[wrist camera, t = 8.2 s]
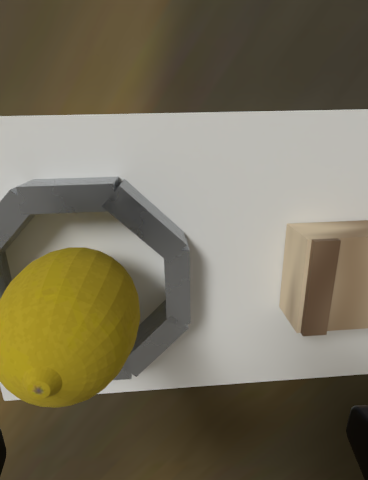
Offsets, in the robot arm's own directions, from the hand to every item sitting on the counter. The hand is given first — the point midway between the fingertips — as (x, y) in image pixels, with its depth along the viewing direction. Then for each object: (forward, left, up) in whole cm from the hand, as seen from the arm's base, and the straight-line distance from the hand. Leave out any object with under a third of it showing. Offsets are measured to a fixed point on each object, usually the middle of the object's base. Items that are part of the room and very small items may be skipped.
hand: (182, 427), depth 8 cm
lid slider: (-9, 0, -10) cm, 13 cm away
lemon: (+4, 0, -10) cm, 11 cm away
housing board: (-1, 0, -11) cm, 11 cm away
